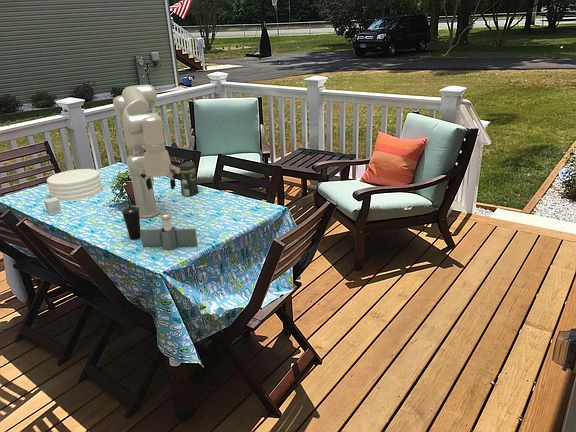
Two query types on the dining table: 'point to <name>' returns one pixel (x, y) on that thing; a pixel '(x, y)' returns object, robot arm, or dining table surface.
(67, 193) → the plate stack
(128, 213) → the drinking cup
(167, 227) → the hinge pin
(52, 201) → the product box
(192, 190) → the coffee jar
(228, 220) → the dining table surface
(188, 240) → the hinge
